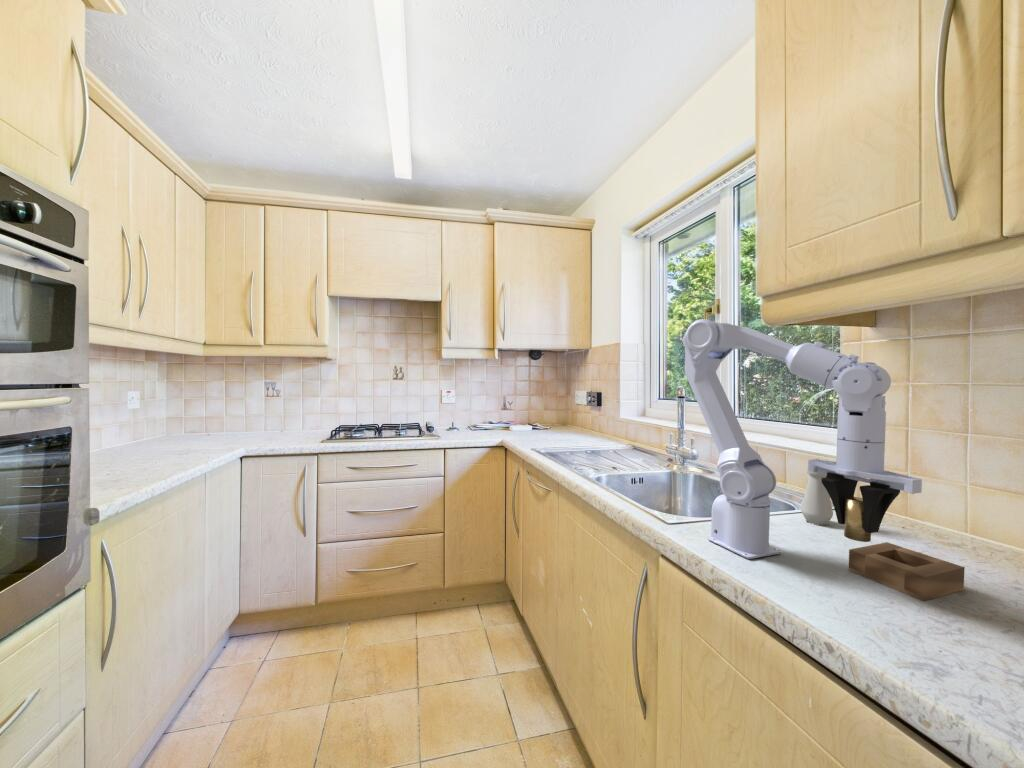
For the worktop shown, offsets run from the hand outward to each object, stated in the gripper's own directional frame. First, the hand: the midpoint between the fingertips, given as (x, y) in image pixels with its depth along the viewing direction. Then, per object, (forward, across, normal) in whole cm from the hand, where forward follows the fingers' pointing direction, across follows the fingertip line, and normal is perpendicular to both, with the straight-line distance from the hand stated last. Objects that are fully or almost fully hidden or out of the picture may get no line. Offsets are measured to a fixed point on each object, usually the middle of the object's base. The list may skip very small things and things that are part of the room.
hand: (857, 527), depth 65 cm
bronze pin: (+2, 0, 0) cm, 2 cm away
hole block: (+9, +1, +9) cm, 13 cm away
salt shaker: (+9, -22, +23) cm, 33 cm away
